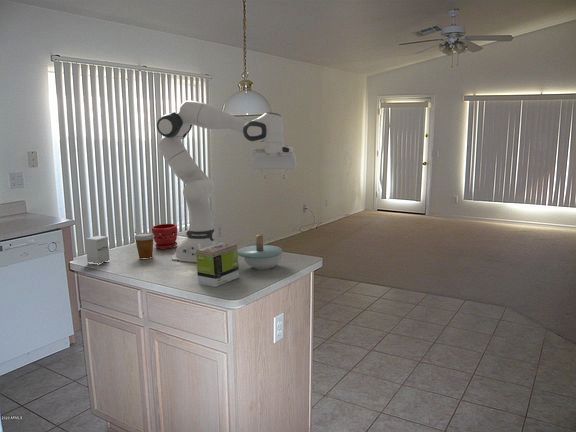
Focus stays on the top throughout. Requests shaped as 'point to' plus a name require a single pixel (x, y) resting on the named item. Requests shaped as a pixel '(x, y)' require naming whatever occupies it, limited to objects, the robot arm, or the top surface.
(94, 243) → the supplement box
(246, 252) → the cover
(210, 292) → the top surface
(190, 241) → the robot arm
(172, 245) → the plant pot
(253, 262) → the cereal bowl
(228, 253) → the tea box
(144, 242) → the glass of beer
